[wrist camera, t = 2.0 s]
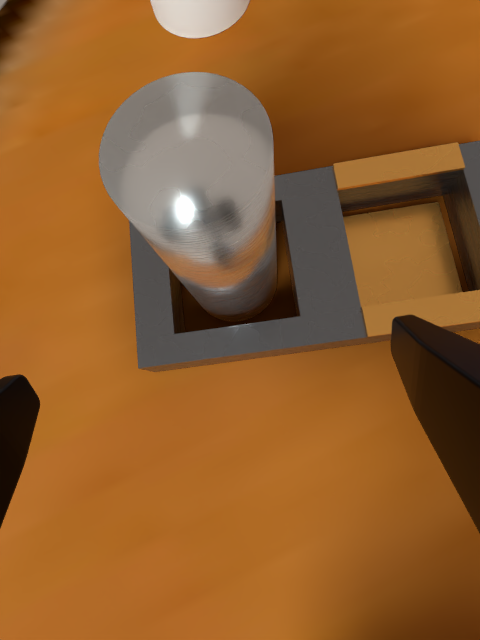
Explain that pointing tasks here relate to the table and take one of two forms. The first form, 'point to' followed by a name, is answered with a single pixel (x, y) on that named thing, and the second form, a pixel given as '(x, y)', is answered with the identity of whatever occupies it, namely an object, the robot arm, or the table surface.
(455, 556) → the table surface
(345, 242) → the grey flat frame
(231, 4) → the cylindrical container
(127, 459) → the table surface
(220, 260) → the steel peg
